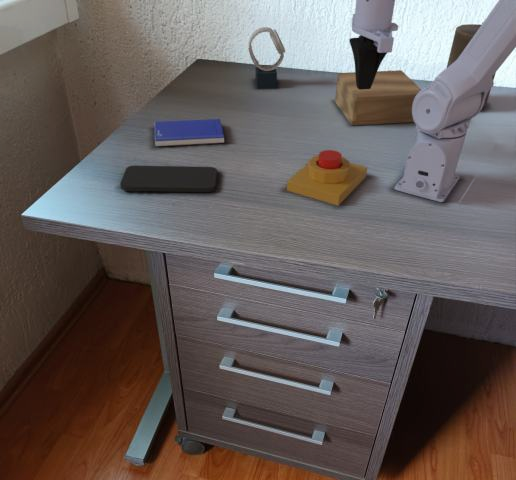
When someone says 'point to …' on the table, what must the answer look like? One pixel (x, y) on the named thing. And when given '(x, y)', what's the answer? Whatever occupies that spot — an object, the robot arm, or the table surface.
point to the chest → (372, 109)
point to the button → (329, 159)
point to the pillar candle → (464, 45)
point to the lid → (382, 86)
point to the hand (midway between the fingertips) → (363, 87)
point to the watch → (267, 73)
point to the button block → (327, 181)
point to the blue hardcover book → (188, 132)
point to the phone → (169, 178)
